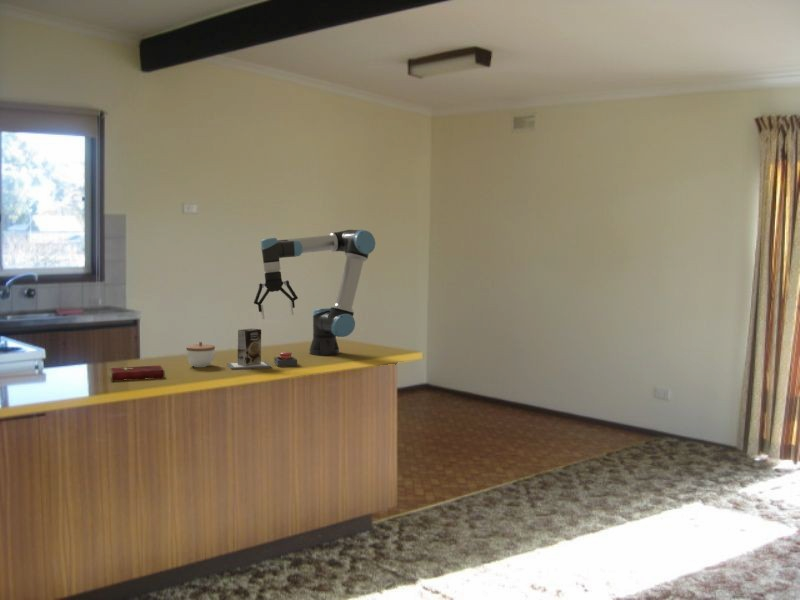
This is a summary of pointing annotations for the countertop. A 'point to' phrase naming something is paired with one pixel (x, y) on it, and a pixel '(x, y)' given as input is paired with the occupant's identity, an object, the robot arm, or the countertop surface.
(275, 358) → the button housing
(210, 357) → the lidded bowl
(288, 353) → the button
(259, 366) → the board
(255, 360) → the coffee box
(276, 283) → the robot arm
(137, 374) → the hardcover book
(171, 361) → the countertop surface
